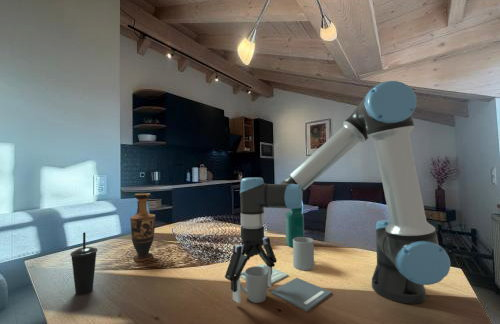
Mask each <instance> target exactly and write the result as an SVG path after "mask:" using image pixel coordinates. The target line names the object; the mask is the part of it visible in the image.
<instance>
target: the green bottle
mask: <svg viewBox="0 0 500 324" xmlns="http://www.w3.org/2000/svg"><path fill="white" fill-rule="evenodd" d="M302 212H303V205H302V206H301V208H294V209H290V211H287V212H286V213H285V216H284V217H285V243H286V245H287V246H288V247H290V248H293V239H294V238H296V237H305V218H304V217H305V216H304V213H302Z"/></svg>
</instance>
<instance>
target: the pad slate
mask: <svg viewBox="0 0 500 324" xmlns="http://www.w3.org/2000/svg"><path fill="white" fill-rule="evenodd" d="M270 294H271V295H274V296H275V297H277V298H279V299H281V300H283V301H285V302H287V303H289V304H291V305H293V306H295V307H297V308H298V309H300V310H302V311H304V312H310V310H312V309H313V308H315V307H316V306H317V305H319V304H320V303H321V302H323V301H324V300H325V299H327V298H328V297H330V296H331V295H332V294H333V293H332V291H330V290H328V289H326V288H323V287H320V286H319V285H316V284H313V283H311V282H308V281H306V280H303V279H301V278H298V277H295V278H293V279H291V280H290V281H288V282H286V283H284V284H282V285H280V286H279V287H276V288H274V289H273V290H271V291H270Z"/></svg>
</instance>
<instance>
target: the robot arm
mask: <svg viewBox="0 0 500 324" xmlns="http://www.w3.org/2000/svg"><path fill="white" fill-rule="evenodd" d="M417 101H418V100H417V96H416V93H415V91H414V90H413V89H412V87H411V86H410V85H408V84H405V83H404V82H402V81H399V80H398V81H397V80H388V81H387V80H386V81H383V82H381V83H378V84H377V85H375V86H374V87H372V88H371V89H369V91H367V94H366V95H365V96H364V98H363V99H362V100H361V101H360V102H359V104H358V105H357V106H356V107H355V109H354V111H352V113H351V114H350V116H349V117H347V119H345V120H344V121H343V125H342V127H341V128H339V130H337V131H336V132H335V133H334V134H332V136H331V137H329V139H327V141H326V142H324V143H323V144H322V145H321V146H320V147H319V148H318V149H316V150H315V151H314V152H313V153H312V154H311V155H309V157H307V159H306V160H304V161H303V162H301V164H300V165H298V167H297V168H296V169H294V170H293V171H292V172H291V173H290V174H289V175H288V176H287V177H286V178H284V179H283V181H281V182H280V183H274V184H273V183H272V184H271V183H265V182H264V181H265V180H264V179H263V178H264V177H244V178H242V179H241V180H240V190H239V197H240V225H241V226H240V238H241V244H240V245H239V244H234V245H233V247H232V248H233V249H232V255H231V258H230V260H229V263H228V266H227V268H226V272H225V275H224V278H225V279H226V280H228V281H230V290H231V291H232V300H233V301H234V302H236V303H237V304H240V303H241V289H240V284H241V280H239V279H238V278H239V276H240V274H241V272H242V271H244V268H245V266H246V264H247V263H248V261H249V260H250V259H251V258H252V257H254V256H259V257H260V258H261V260H262V261H263V263H264V268H266V269H268V271H269V273H268V285H267V288H271V287H272V284H271V275H272V268H274V267H275V265H276V263H277V258H276V254H275V253H274V250H273V248H272V245H271V239H270V237H267V236H265V226H264V225H265V213H264V212H265V208H266V209H267V208H268V209H269V208H270V209H273V208H274V209H289V210H291V209H294V208H301V206H302V207H303V205H302V204H303V196H302V195H303V192H305V190H306V189H308V187H309V186H311V185H312V184H314V182H315V181H316V180H318V179H319V178H320V177H321V176H322V175H323V174H324V173H326V172H327V171H328V170H329V169H330V168H331V167H332V166H334V165H335V164H336V163H337V162H338V161H339V160H341V159H342V158H343V157H344V156H346V154H347V153H348V152H350V151H351V150H353V149H354V147H356V146H357V145H358V143H359V144H360V143H364V142H365V141H367V140H368V139H369V140H370V139H371V140H372V141H373V142H374V146H375V151H376V152H375V153H376V158H377V161H378V162H377V163H378V167H379V172H380V179H381V181H382V182H381V183H382V188H383V192H384V199H385V202H386V208H387V213H388V218H389V219H381V220H378V221H376V224H375V244H376V247H375V248H376V266H375V268H374V272H373V273H372V277H371V287H372V290H373V292H375V293H376V294H379V296H381V297H384V298H385V299H388V300H390V301H391V300H392V301H394V302H398V303H403V304H420V303H423V302H424V301H426V299H427V292H426V287H425V286H430V285H435V284H437V283H440V282H441V281H443V279H445V277H447V276H448V274H449V273H450V269H451V259H450V257H449V255H448V252H446V250H445V248H443V247H442V246H441V245H439V241H438V240H439V239H438V237H437V232H436V230H437V229H436V227H435V226H433V224H430V223H429V221H427V217H426V213H425V207H424V202H423V197H422V192H421V187H420V182H419V178H418V173H417V168H416V167H417V166H416V163H415V158H414V153H413V148H412V147H413V146H412V142H411V139H410V133H412V131H413V130H414V128H415V124H414V117H413V115H412V114H413V113H414V112H415V110H416V107H417V104H418V103H417Z"/></svg>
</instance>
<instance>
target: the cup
mask: <svg viewBox="0 0 500 324" xmlns="http://www.w3.org/2000/svg"><path fill="white" fill-rule="evenodd" d="M243 271H244V272H242V273H241V274H240V276H241V275H244V276H245V279H246V280H245V286H246V288H245V287H244V286H243V285H242V284H241V283H240V291H242V292H243V293H244V294H246V295H247V298H248V300H249V301H250V302H251V303H254V304H255V303H256V304H260V303H263V302H264V301H266V300H267V293H268V286H267V285H268V273H269V271H268V269H266V268H264V267H259V266H257V265H256V266H250V267H248V268H246V269H245V270H243ZM240 276H239V278H238V279H239V280H240ZM240 281H241V280H240Z"/></svg>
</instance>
